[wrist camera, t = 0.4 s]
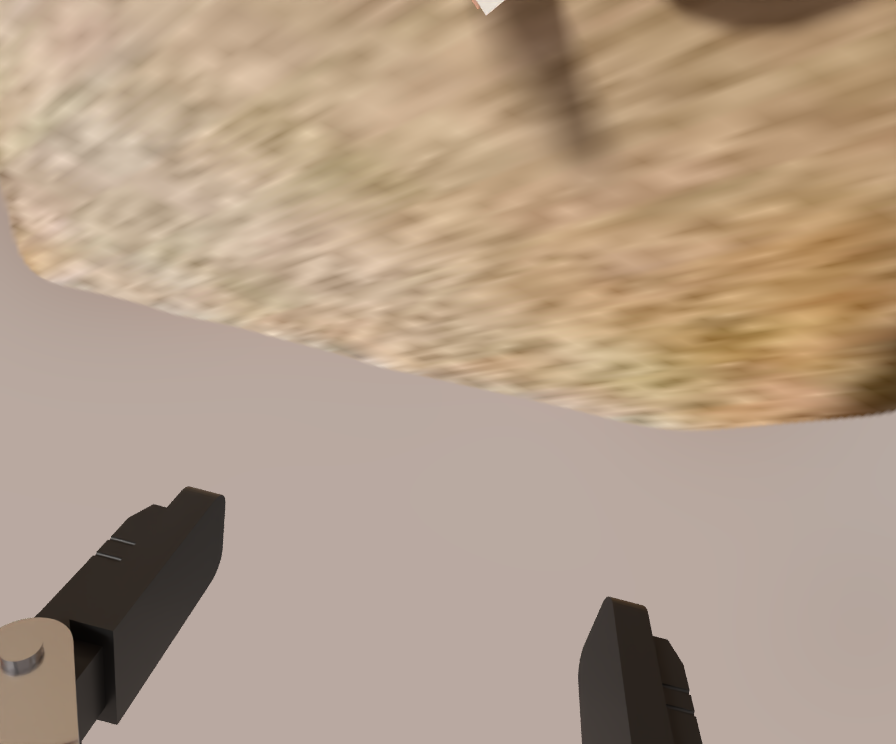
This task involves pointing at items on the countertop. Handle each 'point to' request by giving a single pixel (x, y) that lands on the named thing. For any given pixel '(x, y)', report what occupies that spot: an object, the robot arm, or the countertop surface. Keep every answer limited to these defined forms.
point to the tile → (487, 5)
